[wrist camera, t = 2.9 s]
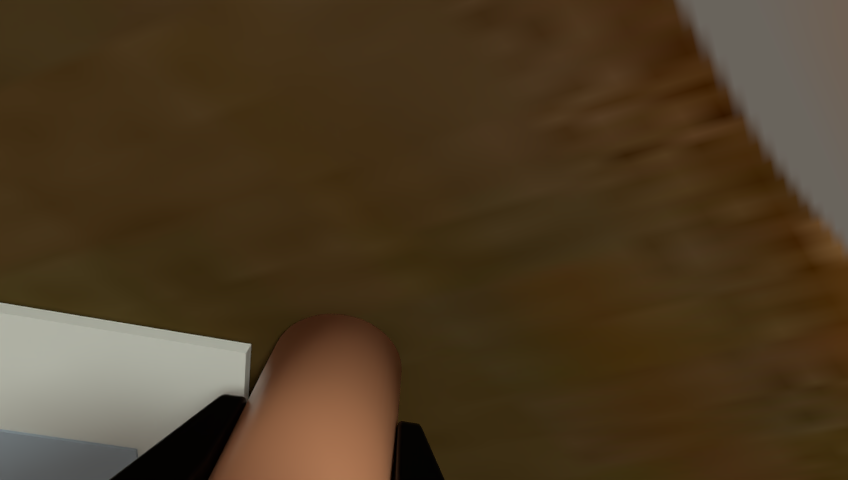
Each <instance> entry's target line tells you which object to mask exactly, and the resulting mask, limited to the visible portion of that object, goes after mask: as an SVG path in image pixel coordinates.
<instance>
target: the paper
mask: <svg viewBox="0 0 848 480" xmlns="http://www.w3.org/2000/svg"><path fill="white" fill-rule="evenodd" d="M250 357H251V344H247V343H241V342H235V341H229V340H223V339H217V338H211V337H204V336H198V335H192V334H186V333H180V332H174V331H168V330H162V329H156V328H150V327H144V326H138V325H132V324H126V323H120V322H114V321H108V320H102V319H96V318H90V317H84V316H78V315H72V314H66V313H60V312H54V311H48V310H42V309H36V308H29V307H23V306H17V305H11V304H5V303H0V480H109V479H110V478H112V477H113V476H114V475H116V474H117V473H118V472H120V471H121V470H122V469H124V468H125V467H126V466H128V465H129V464H130V463H132V462H133V461H134V460H136V459H137V458H138V457H140V456H141V455H142V454H143V453H145V452H146V451H147V450H149V449H150V448H151V447H153V446H154V445H155V444H157V443H158V442H159V441H161V440H162V439H163V438H165V437H166V436H167V435H169V434H170V433H171V432H173V431H174V430H175V429H177V428H178V427H179V426H181V425H182V424H183V423H184V422H186V421H187V420H188V419H190V418H191V417H192V416H194V415H195V414H196V413H198V412H199V411H200V410H202V409H203V408H204V407H206V406H207V405H208V404H210V403H211V402H212V401H214V400H215V399H216V398H218V397H219V396H221V395H223V394H231V395H237V396H243V397H245V398H246V402H247V401H248V398H249V378H250Z"/></svg>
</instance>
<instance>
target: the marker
mask: <svg viewBox="0 0 848 480" xmlns="http://www.w3.org/2000/svg"><path fill="white" fill-rule="evenodd" d="M401 372H402V370H401V360H400V356H399V354H398V351H397V349H396V347H395V345H394V344H393V343H392V341H391V340H390V339H389V338H388V337H387V336H386V335H385V334H384V333H383V332H382V331H381V330H379V329H378V328H377V327H375V326H374V325H372V324H370V323H368V322H366V321H364V320H361V319H359V318H356V317H352V316H348V315H341V314H322V315H316V316H312V317H308V318H306V319H303V320H301V321H299V322H297V323H295V324H294V325H292V326H291V327H289V328H288V329H287V330H286V331H285V332H284V333H283V334H282V336H281V337H280V338H279V340H278V342H277V344H276V346H275V348H274V350H273V352H272V354H271V356H270V358H269V359H268V361H267V363H266V365H265V367H264V369H263V371H262V373H261V375H260V377H259V379H258V381H257V383H256V385H255V387H254V389H253V391H252V393H251V395H250V397H249V399H248V401H247V403H246V405H245V407H244V409H243V411H242V413H241V415H240V417H239V419H238V421H237V423H236V425H235V427H234V429H233V431H232V433H231V435H230V437H229V439H228V441H227V443H226V445H225V447H224V449H223V451H222V453H221V455H220V457H219V459H218V461H217V463H216V465H215V467H214V469H213V471H212V473H211V475H210V477H209V478H208V480H393V468H394V456H395V443H396V430H397V424H398V411H399V398H400V385H401Z"/></svg>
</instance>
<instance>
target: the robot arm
mask: <svg viewBox="0 0 848 480" xmlns="http://www.w3.org/2000/svg"><path fill="white" fill-rule="evenodd" d="M246 403H247V402H246V398H245V397H243V396H237V395H231V394H223V395H221V396H219V397H218V398H216V399H215V400H214V401H212V402H211V403H210V404H208V405H207V406H206V407H204V408H203V409H202V410H200V411H199V412H198V413H196V414H195V415H194V416H192V417H191V418H190V419H188V420H187V421H186V422H184V423H183V424H182V425H181V426H179V427H178V428H177V429H175V430H174V431H173V432H171V433H170V434H169V435H167V436H166V437H165V438H163V439H162V440H161V441H159V442H158V443H157V444H155V445H154V446H153V447H151V448H150V449H149V450H147V451H146V452H145V453H143V454H142V455H141V456H140V457H138V458H137V459H136V460H134V461H133V462H132V463H130V464H129V465H128V466H126V467H125V468H124V469H122V470H121V471H120V472H118V473H117V474H116V475H114V476H113V477H112V478H110V479H109V480H208V478H209V477H210V475H211V473H212V471H213V469H214V467H215V465H216V463H217V461H218V459H219V457H220V455H221V453H222V451H223V449H224V447H225V445H226V443H227V441H228V439H229V437H230V435H231V433H232V431H233V429H234V427H235V425H236V423H237V421H238V419H239V417H240V415H241V413H242V411H243V409H244V407H245V405H246ZM393 480H444V477H443V475H442V473H441V471H440V468H439V466H438V464H437V461H436V459H435V457H434V455H433V452H432V450H431V448H430V445H429V443H428V441H427V439H426V436H425V434H424V432H423V430H422V428H421V426H420V425H419V424H417V423H411V422H404V421H401V422H399V423H398V425H397V430H396V443H395V456H394V468H393Z"/></svg>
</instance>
